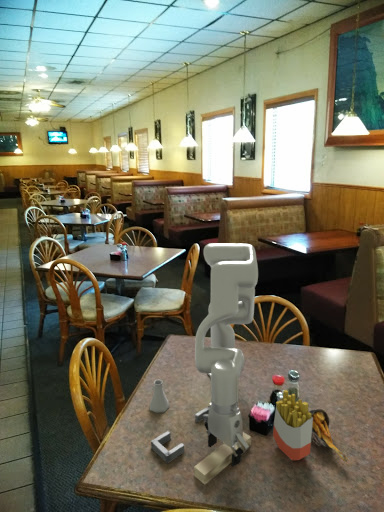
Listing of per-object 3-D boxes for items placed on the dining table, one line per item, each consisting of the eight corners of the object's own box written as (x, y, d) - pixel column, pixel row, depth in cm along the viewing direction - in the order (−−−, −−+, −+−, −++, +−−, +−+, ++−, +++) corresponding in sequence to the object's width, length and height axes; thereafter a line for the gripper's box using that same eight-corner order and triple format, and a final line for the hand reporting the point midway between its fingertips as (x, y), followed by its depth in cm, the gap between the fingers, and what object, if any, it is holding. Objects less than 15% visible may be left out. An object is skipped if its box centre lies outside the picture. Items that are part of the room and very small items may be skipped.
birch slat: (240, 439, 116) (240, 430, 115) (250, 446, 113) (251, 436, 112) (194, 476, 103) (194, 466, 102) (204, 485, 100) (204, 475, 99)
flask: (166, 414, 127) (165, 389, 124) (146, 412, 128) (145, 387, 126) (171, 401, 134) (170, 377, 131) (152, 399, 135) (151, 375, 133)
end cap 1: (168, 437, 117) (168, 430, 116) (184, 451, 111) (184, 445, 110) (151, 447, 113) (150, 441, 112) (167, 463, 107) (166, 456, 106)
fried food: (317, 405, 123) (364, 422, 107) (313, 441, 121) (360, 462, 105) (296, 403, 119) (341, 419, 103) (292, 439, 117) (337, 462, 101)
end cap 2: (211, 433, 118) (211, 426, 117) (195, 420, 124) (195, 414, 123) (225, 423, 122) (226, 417, 121) (209, 411, 128) (209, 405, 127)
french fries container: (298, 467, 105) (302, 413, 100) (271, 442, 114) (274, 392, 109) (309, 460, 107) (314, 407, 102) (282, 437, 116) (285, 387, 111)
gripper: (257, 412, 99) (255, 465, 103) (212, 384, 111) (212, 431, 116) (238, 426, 94) (237, 480, 99) (193, 394, 107) (194, 443, 111)
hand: (224, 454), depth 107 cm, fingers open, 9 cm apart
